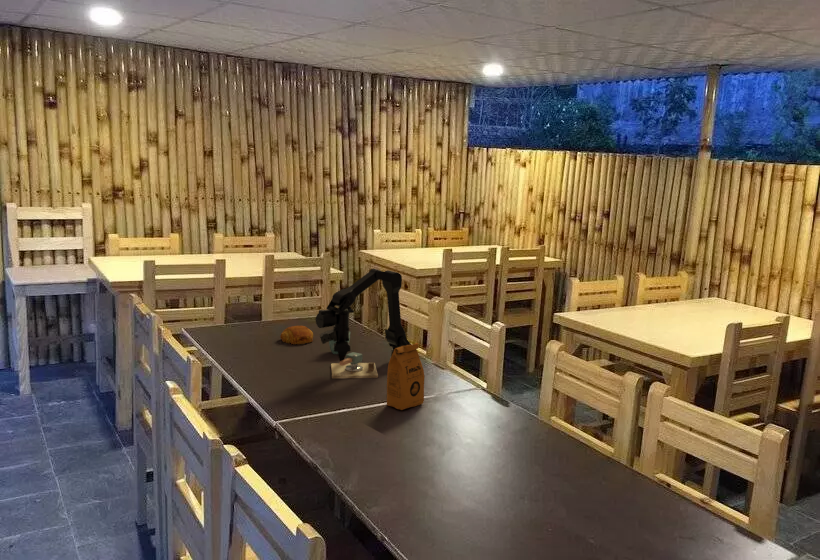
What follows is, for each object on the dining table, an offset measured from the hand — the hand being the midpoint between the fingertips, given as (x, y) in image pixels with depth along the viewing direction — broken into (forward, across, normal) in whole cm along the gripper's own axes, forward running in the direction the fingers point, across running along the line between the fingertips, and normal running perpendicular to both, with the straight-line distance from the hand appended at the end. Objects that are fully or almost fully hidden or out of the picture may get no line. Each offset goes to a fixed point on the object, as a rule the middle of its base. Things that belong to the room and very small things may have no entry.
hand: (341, 362), depth 261 cm
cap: (+1, -1, +3) cm, 4 cm away
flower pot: (+6, -29, 0) cm, 30 cm away
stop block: (+5, -2, +12) cm, 13 cm away
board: (+5, -3, +5) cm, 8 cm away
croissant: (+6, -50, -19) cm, 53 cm away
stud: (+5, -3, +5) cm, 8 cm away
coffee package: (+5, +35, +21) cm, 41 cm away
